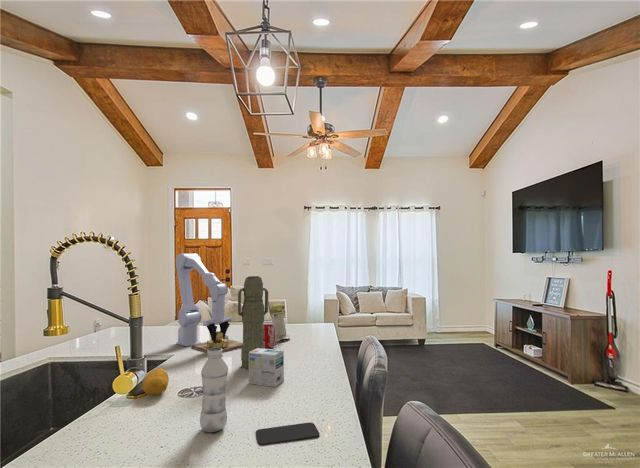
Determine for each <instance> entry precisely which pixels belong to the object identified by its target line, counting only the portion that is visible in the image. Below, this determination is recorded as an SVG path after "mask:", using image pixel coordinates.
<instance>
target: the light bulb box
mask: <svg viewBox="0 0 640 468" xmlns="http://www.w3.org/2000/svg"><path fill="white" fill-rule="evenodd" d="M284 352H285V351H284V350H283V349H274V348H273V349H261V348H257V349H255V350H253V351H250V352H249V369H248V383H247V384H250V385H257V386H264V387H271V388H273V387H274V388H277V387H278V386H279V385H281V384H282V383H283V382H284V381H285V358H284V357H285V353H284Z"/></svg>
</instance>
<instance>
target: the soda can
mask: <svg viewBox="0 0 640 468" xmlns="http://www.w3.org/2000/svg"><path fill="white" fill-rule="evenodd" d="M275 345H276V343H275V326H274V323H273V322H272V321H264V322H263V347H264V349H273V350H274V349H275Z"/></svg>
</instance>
